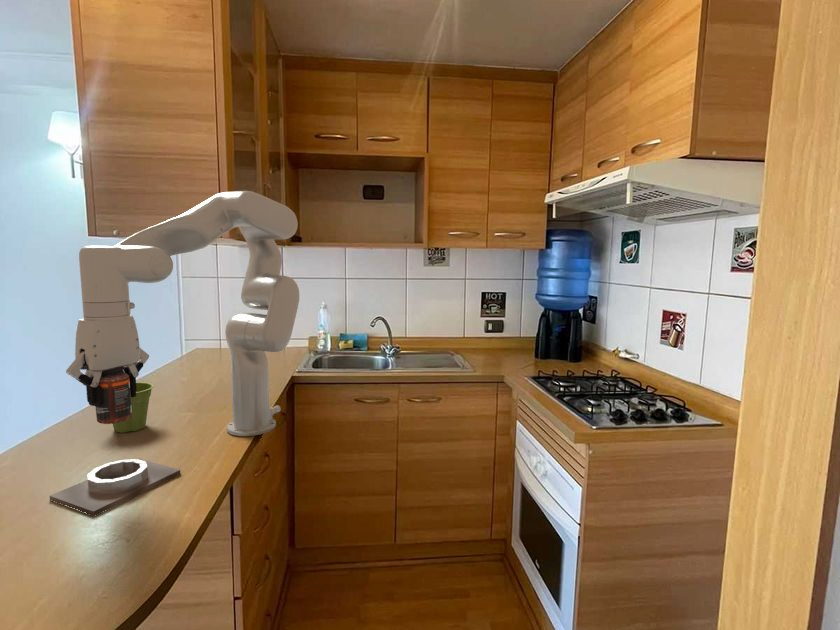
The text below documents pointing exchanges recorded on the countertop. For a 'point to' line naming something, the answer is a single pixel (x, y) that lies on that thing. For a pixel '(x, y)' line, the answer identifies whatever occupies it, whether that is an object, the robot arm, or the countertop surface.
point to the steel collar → (113, 486)
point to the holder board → (96, 504)
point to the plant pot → (137, 409)
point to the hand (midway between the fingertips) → (113, 399)
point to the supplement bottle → (114, 397)
